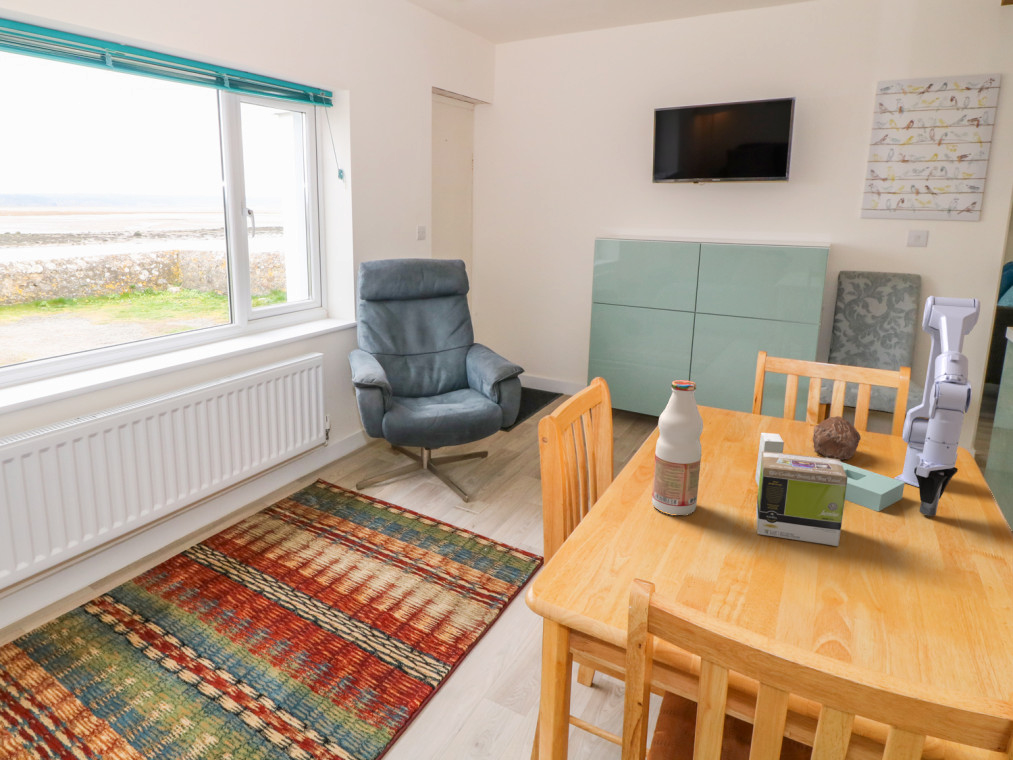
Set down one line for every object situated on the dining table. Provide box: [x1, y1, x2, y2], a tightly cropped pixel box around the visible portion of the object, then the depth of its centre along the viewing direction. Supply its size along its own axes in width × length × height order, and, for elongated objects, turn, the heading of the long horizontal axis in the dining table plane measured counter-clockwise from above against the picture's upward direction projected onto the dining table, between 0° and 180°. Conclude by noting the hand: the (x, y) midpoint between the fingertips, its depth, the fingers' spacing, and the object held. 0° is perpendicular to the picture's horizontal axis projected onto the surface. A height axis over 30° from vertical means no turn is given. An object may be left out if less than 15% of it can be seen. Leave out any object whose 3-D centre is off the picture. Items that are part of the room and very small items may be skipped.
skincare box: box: [754, 432, 785, 487], centre depth 153 cm, size 6×4×12 cm
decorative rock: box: [812, 415, 862, 461], centre depth 172 cm, size 13×11×10 cm
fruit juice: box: [651, 379, 704, 516], centre depth 139 cm, size 9×9×28 cm
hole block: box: [841, 461, 906, 512], centre depth 151 cm, size 11×18×4 cm, turn 36°
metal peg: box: [918, 470, 944, 517], centre depth 138 cm, size 3×3×10 cm
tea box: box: [756, 451, 848, 547], centre depth 131 cm, size 15×10×15 cm
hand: (930, 499), depth 139 cm, fingers closed on metal peg, 3 cm apart
